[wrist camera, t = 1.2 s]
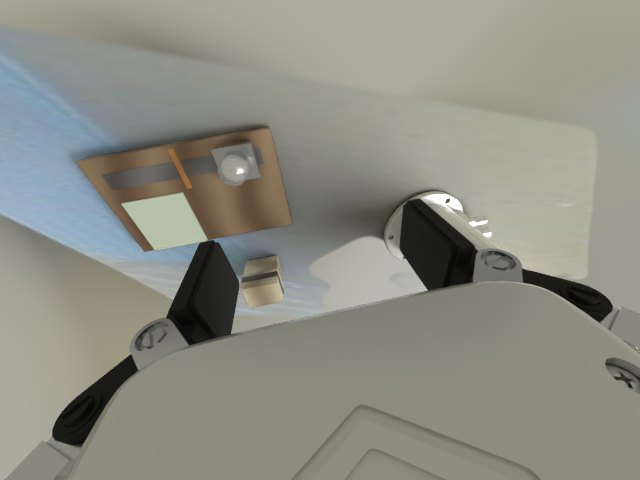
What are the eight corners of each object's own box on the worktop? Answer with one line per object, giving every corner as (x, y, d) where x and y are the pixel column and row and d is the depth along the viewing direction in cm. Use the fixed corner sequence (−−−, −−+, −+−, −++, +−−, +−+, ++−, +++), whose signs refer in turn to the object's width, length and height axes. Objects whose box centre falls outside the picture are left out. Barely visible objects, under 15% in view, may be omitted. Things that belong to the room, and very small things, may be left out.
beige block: (277, 254, 36) (277, 282, 31) (283, 273, 38) (283, 301, 33) (245, 260, 35) (239, 289, 31) (253, 279, 38) (249, 308, 33)
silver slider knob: (251, 140, 24) (247, 149, 21) (261, 173, 26) (258, 186, 23) (214, 146, 24) (203, 157, 20) (226, 179, 26) (219, 194, 23)
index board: (269, 126, 25) (269, 129, 24) (291, 218, 32) (292, 224, 31) (85, 157, 24) (75, 162, 23) (149, 245, 31) (144, 252, 30)
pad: (182, 192, 26) (182, 192, 26) (208, 240, 31) (207, 240, 30) (121, 203, 26) (120, 203, 26) (155, 249, 30) (155, 250, 30)
